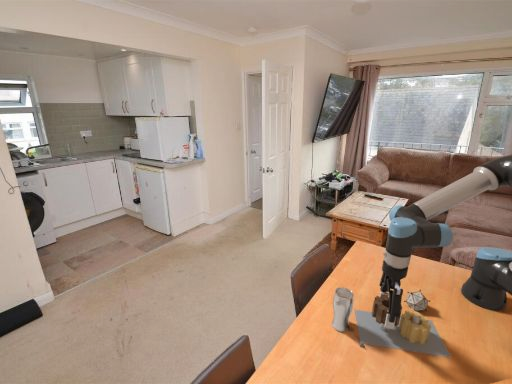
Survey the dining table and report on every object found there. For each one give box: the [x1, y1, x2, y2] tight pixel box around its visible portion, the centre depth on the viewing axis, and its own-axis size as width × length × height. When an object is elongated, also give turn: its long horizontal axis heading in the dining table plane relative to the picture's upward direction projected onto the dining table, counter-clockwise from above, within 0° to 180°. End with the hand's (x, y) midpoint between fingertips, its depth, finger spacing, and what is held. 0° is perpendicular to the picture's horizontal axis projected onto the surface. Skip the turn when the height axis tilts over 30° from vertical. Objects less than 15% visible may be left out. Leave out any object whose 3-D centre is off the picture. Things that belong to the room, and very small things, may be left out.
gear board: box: [354, 309, 452, 358], centre depth 95 cm, size 28×16×8 cm, turn 79°
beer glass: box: [331, 286, 355, 333], centre depth 98 cm, size 7×7×15 cm
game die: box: [403, 288, 431, 312], centre depth 107 cm, size 9×8×10 cm
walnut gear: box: [371, 295, 403, 326], centre depth 94 cm, size 9×9×6 cm
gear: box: [399, 310, 431, 344], centre depth 94 cm, size 9×9×6 cm
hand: (385, 316), depth 95 cm, fingers closed on walnut gear, 9 cm apart
